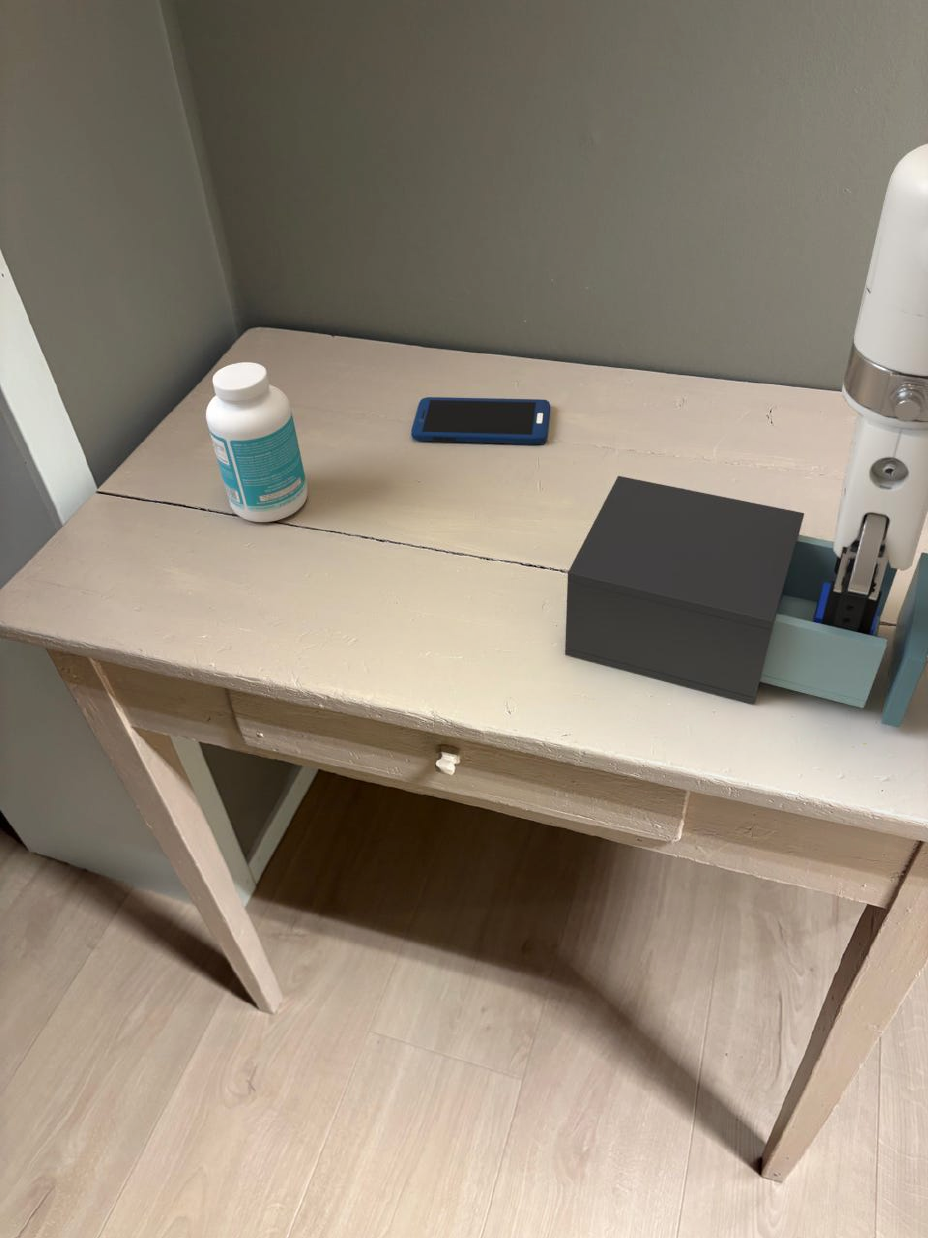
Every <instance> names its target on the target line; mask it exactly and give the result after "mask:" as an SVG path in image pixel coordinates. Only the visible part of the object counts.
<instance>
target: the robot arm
mask: <svg viewBox="0 0 928 1238" xmlns="http://www.w3.org/2000/svg"><path fill="white" fill-rule="evenodd" d="M853 333H854V334H853V338H852V343H851V347H850V350H849V351H850V352H849V356H848V360H847V365H846V370H845V373H844V377H843V383H842V387H841V394H842V398H843V399H844V402H845V403H846V404H847V405H848V406H849V407H850V408H851V409H852V411H854V412H856V413H857V414H856V419H855V423H854V427H853V432H852V436H851V441H850V446H849V451H848V455H847V460H846V465H845V470H844V473H843V474H844V475H843V480H842V485H841V490H840V491H841V492H840V497H839V504H838V510H837V518H836V525H835V532H834V533H835V534H834V539H833V540H834V541H833V542H834V548H833V550H834V552H835V554H836V555H837V556H838V557H837V561H836V565H835V569H834V572H835V573H836V574H837V579H836V581H832V582H831V586H830V590H829V594H828V598H827V602H826V606H825V610H824V613H823V617H822V621H821V624H824V625H828V626H832V627H837V628H841V629H845V630H849V631H854V632H858V633H862V634H866V635H869V634H870V631H871V628H872V624H873V621H874V618H875V615H876V611H877V608H878V605H879V602H880V598H881V594H882V591H879V590H880V587H881V583H882V580H883V576H884V572H885V569H886V565H887V563H888V561H889V563H890V566H891V568H896V569H897V570H900V571H902V572H904V571H907V570H909V569H910V568H911V567H912V566H913V563H914V560H915V555H916V552H917V548H918V546H919V542H920V540H921V539H920V538H921V536H922V532H923V528H924V525H925V521H926V519H927V515H928V143H925V144H923V145H919V146H918V147H916V148H914V149H913V150H910V151H909V152H907V153H906V154H905V155H904V156H903V157H902V158H901V159H900V160H899V161H898V162H897V164H896V166H895V167H894V170H893V171H892V173H891V176H890V178H889V181H888V185H887V187H886V193H885V196H884V200H883V203H882V208H881V213H880V217H879V221H878V226H877V231H876V236H875V240H874V245H873V249H872V254H871V258H870V262H869V267H868V271H867V276H866V280H865V284H864V290H863V294H862V297H861V302H860V307H859V311H858V316H857V321H856V325H855V330H854V332H853Z"/></svg>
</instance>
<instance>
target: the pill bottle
mask: <svg viewBox="0 0 928 1238" xmlns="http://www.w3.org/2000/svg"><path fill="white" fill-rule="evenodd" d="M212 385H213V389H214V393H215V396H213V397H212V399H211V400H210V401H209V402H208V404H207V407H206V410H205V421H206V424H207V428H208V431H209V435H210V439H211V441H212V446H213V450H214V452H215V456H216V459H217V463H218V466H219V471H220V474H221V478H222V481H223V484H224V489H225V491H226V495H227V498H228V501H229V506H230V508H231V509H232V511H233V512H234V513H235V514H236V516H238V517H240V518H241V519H244V520H246V521H248V522H249V521H250V522H254V523H270V522H275V521H279V520H284V519H285V518H287V517H290V516H292V515H293V514H295V513H296V512H297V511H298V510H300V509H301V508H302V507H303V506H304V504H305V503H306V500H307V498H308V493H309V491H308V490H309V489H308V483H307V478H306V474H305V470H304V465H303V459H302V456H301V451H300V445H299V441H298V436H297V431H296V426H295V422H294V421H295V420H294V417H293V413H292V408H291V404H290V400H289V398H288V397H287V395H286V394H285V392H283V390H281V389H279V388H278V387H276V386H274V385H272V384H270V379H269V375H268V371H267V369H266V367H264V366H263V365H262V364H259V363H257V362H251V361H247V362H246V361H243V362H236V363H231V364H229V365H226V366H224V367H222V368H220V369H218V371H216V372H215V373H214V374H213V376H212Z"/></svg>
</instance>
